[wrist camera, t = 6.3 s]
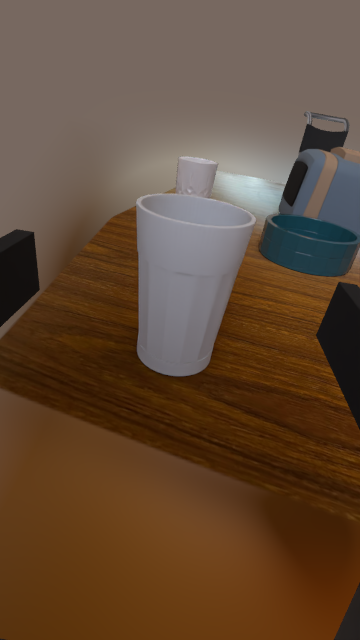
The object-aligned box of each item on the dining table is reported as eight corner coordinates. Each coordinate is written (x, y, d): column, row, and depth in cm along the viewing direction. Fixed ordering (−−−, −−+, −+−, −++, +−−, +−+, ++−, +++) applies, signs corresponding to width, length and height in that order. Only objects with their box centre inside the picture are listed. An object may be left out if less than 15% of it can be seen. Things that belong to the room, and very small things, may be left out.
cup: (132, 386, 24) (146, 222, 18) (122, 325, 30) (130, 189, 24) (233, 380, 26) (278, 231, 20) (204, 324, 33) (230, 199, 26)
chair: (314, 201, 101) (342, 118, 89) (353, 219, 87) (393, 122, 76) (277, 198, 97) (302, 110, 85) (312, 216, 83) (348, 113, 72)
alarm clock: (275, 212, 80) (296, 139, 72) (342, 224, 80) (371, 151, 71) (285, 232, 66) (313, 143, 58) (367, 245, 66) (406, 158, 58)
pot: (264, 266, 48) (273, 233, 46) (254, 236, 61) (261, 209, 58) (363, 283, 48) (378, 250, 46) (333, 249, 61) (344, 222, 58)
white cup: (166, 206, 71) (172, 154, 66) (198, 207, 75) (206, 158, 69) (181, 216, 65) (188, 161, 60) (215, 217, 69) (225, 165, 63)
